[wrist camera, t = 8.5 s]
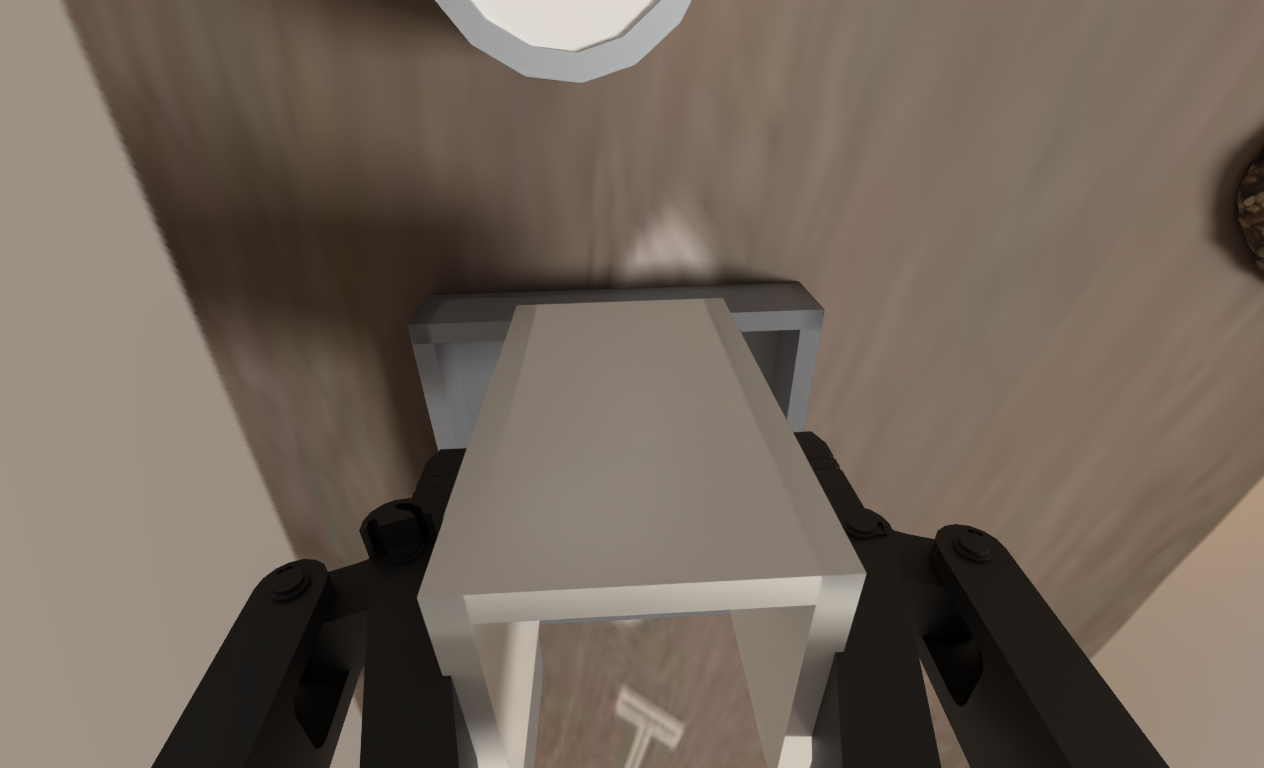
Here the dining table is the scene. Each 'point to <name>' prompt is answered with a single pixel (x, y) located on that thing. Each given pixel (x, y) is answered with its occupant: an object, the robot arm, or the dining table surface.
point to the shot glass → (565, 33)
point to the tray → (478, 323)
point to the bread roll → (1253, 208)
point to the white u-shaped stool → (636, 515)
